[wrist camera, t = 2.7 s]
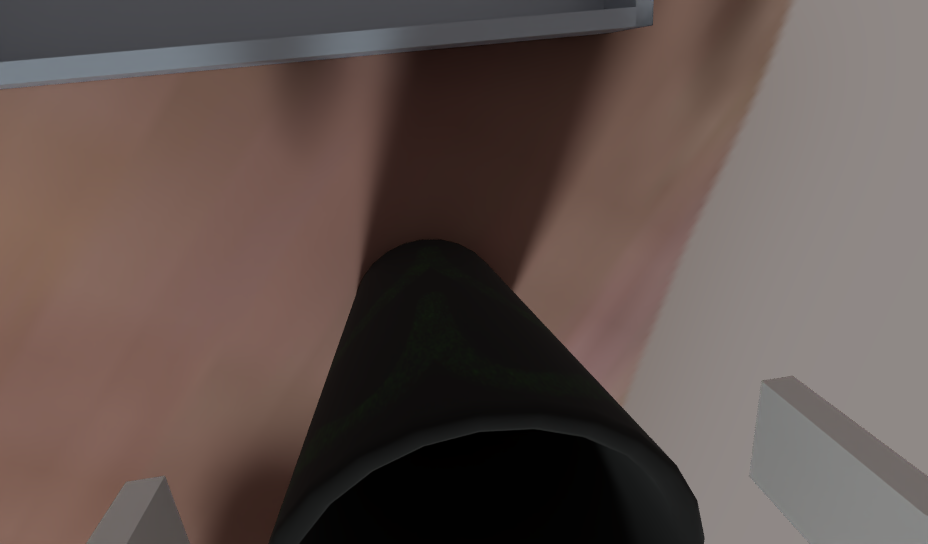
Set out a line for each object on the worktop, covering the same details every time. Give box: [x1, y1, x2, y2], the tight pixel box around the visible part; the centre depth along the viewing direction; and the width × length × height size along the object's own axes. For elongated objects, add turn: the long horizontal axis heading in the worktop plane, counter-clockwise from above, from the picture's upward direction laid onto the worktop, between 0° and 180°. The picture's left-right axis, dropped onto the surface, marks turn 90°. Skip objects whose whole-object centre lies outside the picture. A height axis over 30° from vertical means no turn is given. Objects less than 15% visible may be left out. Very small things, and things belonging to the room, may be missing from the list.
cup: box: [268, 240, 704, 544], centre depth 14 cm, size 8×8×12 cm
